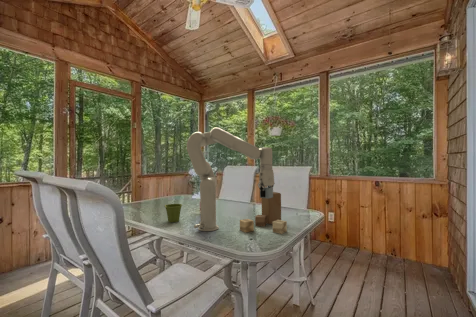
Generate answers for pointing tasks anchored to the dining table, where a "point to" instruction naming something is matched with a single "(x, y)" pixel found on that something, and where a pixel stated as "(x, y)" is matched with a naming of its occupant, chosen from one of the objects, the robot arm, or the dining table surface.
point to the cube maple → (279, 226)
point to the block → (272, 207)
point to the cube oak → (246, 225)
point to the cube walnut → (261, 220)
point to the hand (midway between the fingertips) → (266, 196)
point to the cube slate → (268, 192)
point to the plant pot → (173, 212)
